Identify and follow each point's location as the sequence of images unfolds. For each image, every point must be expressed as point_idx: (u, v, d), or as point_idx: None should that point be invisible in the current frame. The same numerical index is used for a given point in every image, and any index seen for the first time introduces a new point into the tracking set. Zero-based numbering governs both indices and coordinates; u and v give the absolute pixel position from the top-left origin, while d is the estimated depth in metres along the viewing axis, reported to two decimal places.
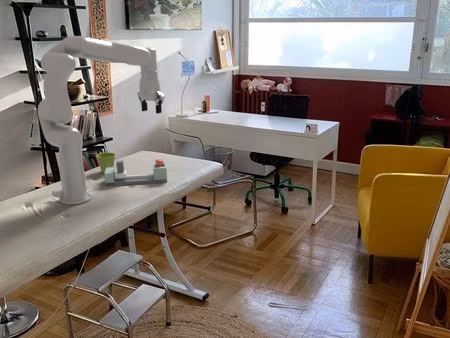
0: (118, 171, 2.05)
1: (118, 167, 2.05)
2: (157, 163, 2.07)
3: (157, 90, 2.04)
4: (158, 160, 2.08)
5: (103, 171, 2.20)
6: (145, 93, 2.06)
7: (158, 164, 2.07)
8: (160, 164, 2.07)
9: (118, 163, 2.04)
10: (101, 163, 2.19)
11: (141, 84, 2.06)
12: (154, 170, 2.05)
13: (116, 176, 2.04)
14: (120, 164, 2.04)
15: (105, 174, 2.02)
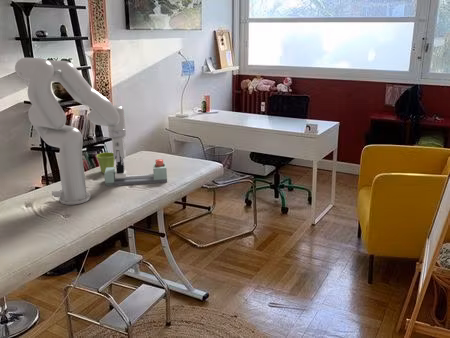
0: None
1: None
2: (157, 163, 2.07)
3: None
4: (158, 160, 2.08)
5: (103, 171, 2.20)
6: None
7: (158, 164, 2.07)
8: (160, 164, 2.07)
9: None
10: (101, 163, 2.19)
11: (123, 143, 2.00)
12: (154, 170, 2.05)
13: (116, 176, 2.04)
14: None
15: (105, 174, 2.02)
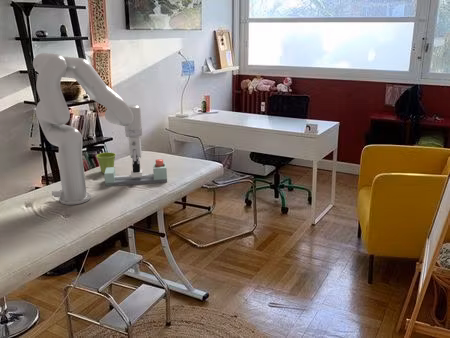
0: None
1: None
2: (157, 163, 2.07)
3: None
4: (158, 160, 2.08)
5: (103, 171, 2.20)
6: None
7: (158, 164, 2.07)
8: (160, 164, 2.07)
9: None
10: (101, 163, 2.19)
11: (140, 142, 2.01)
12: (154, 170, 2.05)
13: (132, 175, 2.05)
14: None
15: (105, 174, 2.02)
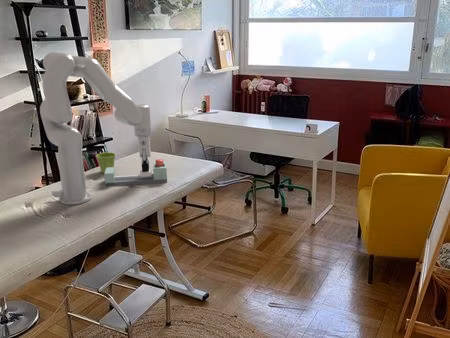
0: None
1: None
2: (157, 163, 2.07)
3: None
4: (158, 160, 2.08)
5: (103, 171, 2.20)
6: None
7: (158, 164, 2.07)
8: (160, 164, 2.07)
9: None
10: (101, 163, 2.19)
11: (149, 141, 2.02)
12: (154, 170, 2.05)
13: (141, 174, 2.06)
14: None
15: (105, 174, 2.02)
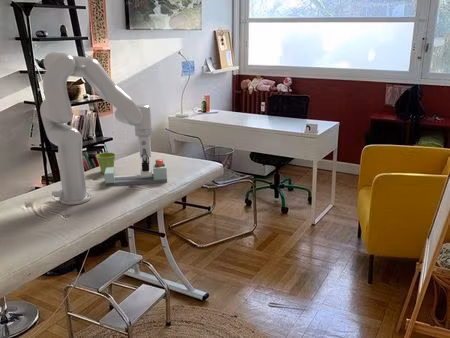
0: None
1: None
2: (157, 163, 2.07)
3: None
4: (158, 160, 2.08)
5: (103, 171, 2.20)
6: None
7: (158, 164, 2.07)
8: (160, 164, 2.07)
9: None
10: (101, 163, 2.19)
11: (149, 141, 2.02)
12: (154, 170, 2.05)
13: (142, 174, 2.06)
14: None
15: (105, 174, 2.02)
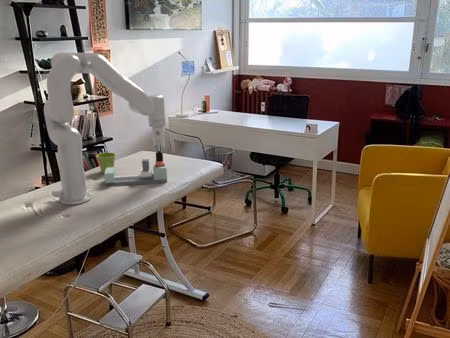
0: (144, 169, 2.07)
1: (144, 166, 2.06)
2: (157, 164, 2.07)
3: None
4: (158, 161, 2.08)
5: (103, 171, 2.20)
6: None
7: (158, 165, 2.07)
8: (161, 164, 2.07)
9: (144, 162, 2.06)
10: (101, 163, 2.19)
11: (163, 132, 2.02)
12: (154, 170, 2.05)
13: (142, 174, 2.06)
14: (145, 163, 2.06)
15: (105, 174, 2.02)
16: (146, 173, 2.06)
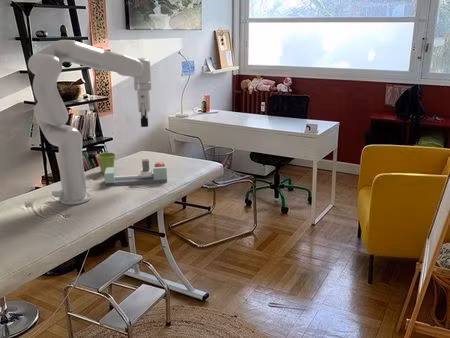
0: (144, 169, 2.07)
1: (144, 166, 2.06)
2: (157, 166, 2.08)
3: None
4: (158, 163, 2.08)
5: (103, 171, 2.20)
6: None
7: None
8: None
9: (144, 162, 2.06)
10: (101, 163, 2.19)
11: (148, 96, 2.00)
12: (154, 170, 2.05)
13: (142, 174, 2.06)
14: (145, 163, 2.06)
15: (105, 174, 2.02)
16: (146, 173, 2.06)
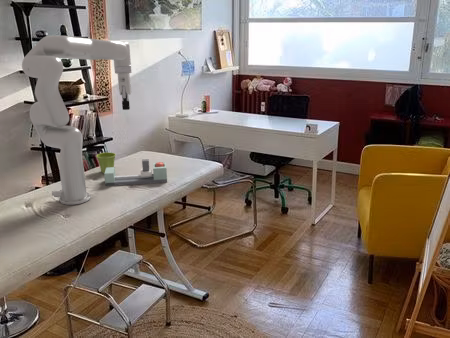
0: (144, 169, 2.07)
1: (144, 166, 2.06)
2: (157, 166, 2.08)
3: None
4: (158, 163, 2.08)
5: (103, 171, 2.20)
6: (130, 87, 2.06)
7: None
8: None
9: (144, 162, 2.06)
10: (101, 163, 2.19)
11: (129, 79, 2.03)
12: (154, 170, 2.05)
13: (142, 174, 2.06)
14: (145, 163, 2.06)
15: (105, 174, 2.02)
16: (146, 173, 2.06)
